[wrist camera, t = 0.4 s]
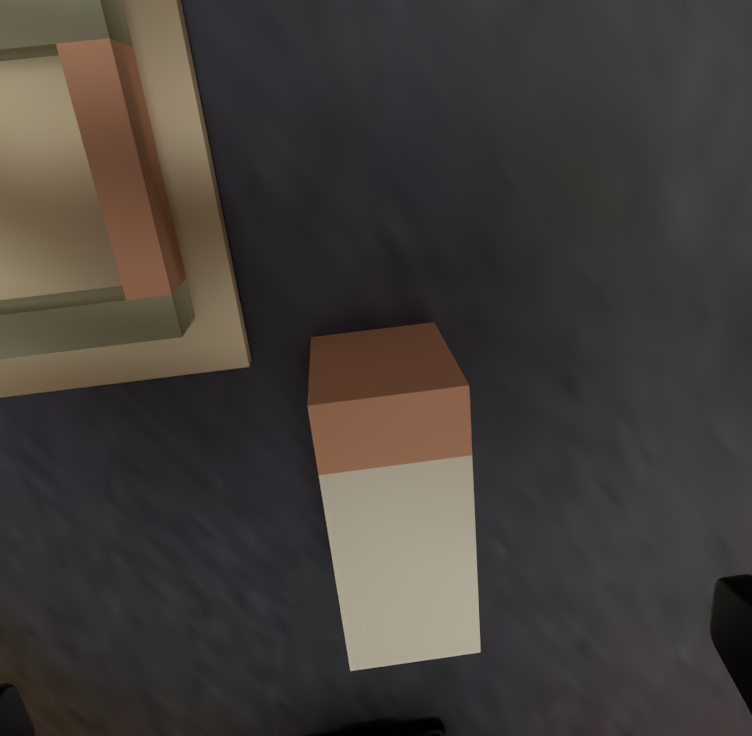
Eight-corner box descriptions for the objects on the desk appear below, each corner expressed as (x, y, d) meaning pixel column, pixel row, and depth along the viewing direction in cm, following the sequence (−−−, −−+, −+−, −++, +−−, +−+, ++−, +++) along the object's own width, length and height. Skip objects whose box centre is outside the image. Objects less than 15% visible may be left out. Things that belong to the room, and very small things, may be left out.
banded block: (448, 544, 23) (480, 652, 18) (344, 558, 23) (350, 670, 18) (434, 322, 19) (469, 385, 15) (311, 337, 19) (307, 406, 14)
